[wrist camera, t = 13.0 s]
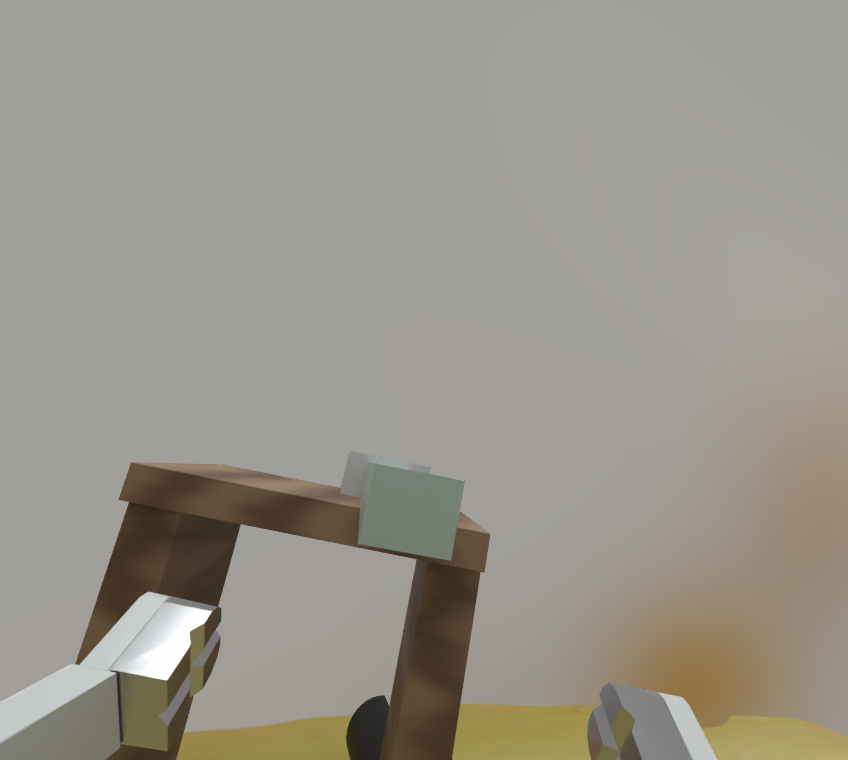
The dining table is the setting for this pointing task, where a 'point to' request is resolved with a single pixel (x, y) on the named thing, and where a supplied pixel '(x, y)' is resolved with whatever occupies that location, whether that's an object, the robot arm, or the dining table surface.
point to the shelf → (304, 516)
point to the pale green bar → (403, 505)
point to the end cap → (367, 729)
